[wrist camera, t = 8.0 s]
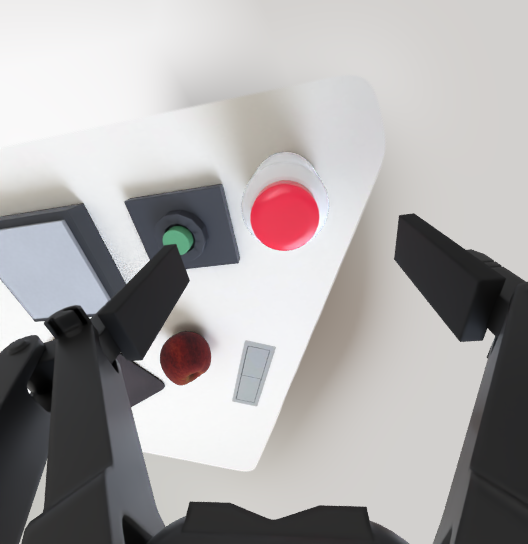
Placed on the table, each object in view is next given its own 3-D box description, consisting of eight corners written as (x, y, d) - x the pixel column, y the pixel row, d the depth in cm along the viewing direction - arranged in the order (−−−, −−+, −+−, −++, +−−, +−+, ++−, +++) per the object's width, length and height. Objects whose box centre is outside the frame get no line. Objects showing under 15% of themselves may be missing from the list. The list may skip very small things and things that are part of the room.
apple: (198, 359, 46) (183, 401, 39) (162, 336, 44) (139, 376, 37) (223, 340, 43) (212, 382, 36) (186, 314, 40) (166, 353, 34)
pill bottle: (325, 156, 27) (346, 174, 18) (310, 224, 31) (321, 268, 22) (254, 147, 27) (238, 160, 18) (249, 215, 31) (233, 256, 22)
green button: (188, 223, 30) (184, 228, 28) (196, 248, 31) (192, 253, 30) (163, 227, 30) (158, 232, 29) (172, 251, 32) (168, 256, 30)
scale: (83, 203, 32) (63, 211, 29) (135, 302, 40) (123, 316, 37) (-20, 219, 34) (-48, 228, 31) (49, 310, 42) (31, 324, 39)
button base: (222, 183, 29) (216, 189, 27) (240, 258, 34) (236, 269, 32) (129, 198, 31) (116, 205, 29) (159, 267, 36) (149, 278, 34)
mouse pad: (73, 321, 43) (72, 322, 43) (168, 385, 50) (167, 386, 50) (16, 374, 52) (15, 375, 52) (103, 422, 60) (103, 423, 60)
